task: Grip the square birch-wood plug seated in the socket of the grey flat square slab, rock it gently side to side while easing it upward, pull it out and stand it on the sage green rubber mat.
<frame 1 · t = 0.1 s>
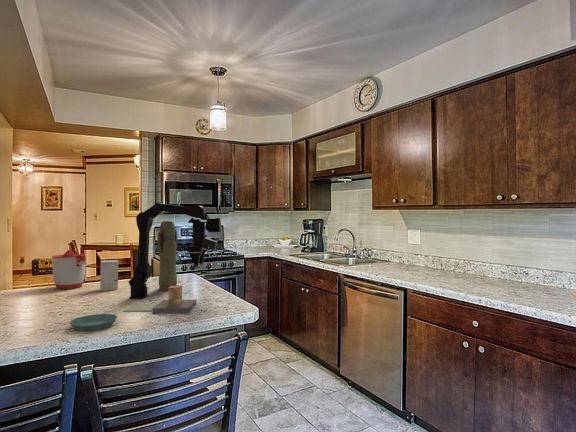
hand: (199, 265, 176), 15 cm above the countertop, tool pointing down, fingers open, 9 cm apart
skincare box: (109, 289, 194), on the countertop
wooden plug: (175, 297, 155), in the grey flat square slab
saucer: (94, 327, 132), on the countertop
grey flat square slab: (175, 308, 155), on the countertop
rubber mat: (142, 308, 156), on the countertop
thermos: (167, 289, 195), on the countertop
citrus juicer: (70, 287, 200), on the countertop
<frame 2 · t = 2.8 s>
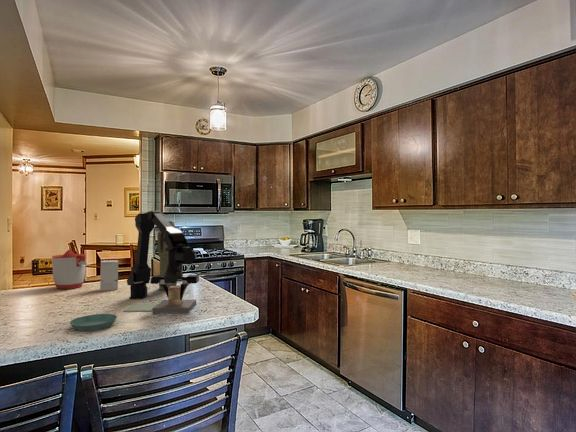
hand: (175, 300, 155), 4 cm above the countertop, tool pointing down, fingers closed on wooden plug, 4 cm apart
wooden plug: (175, 297, 155), in the grey flat square slab, touching gripper
everything else where it was.
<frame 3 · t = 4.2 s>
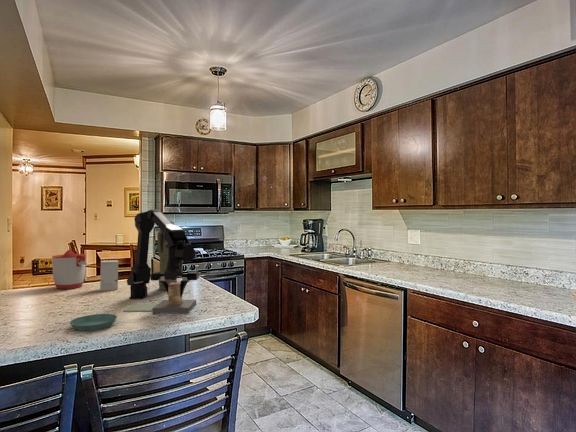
hand: (175, 296, 155), 5 cm above the countertop, tool pointing down, fingers closed on wooden plug, 4 cm apart
wooden plug: (175, 294, 155), point 6 cm above the countertop, touching gripper
everything else where it was.
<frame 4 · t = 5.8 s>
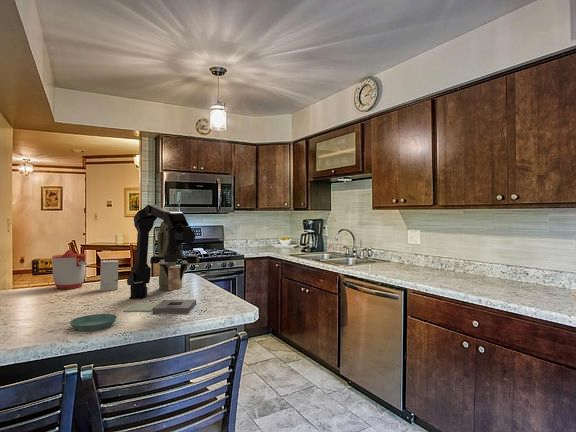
hand: (175, 280, 155), 12 cm above the countertop, tool pointing down, fingers closed on wooden plug, 4 cm apart
wooden plug: (175, 277, 155), point 13 cm above the countertop, touching gripper
everything else where it was.
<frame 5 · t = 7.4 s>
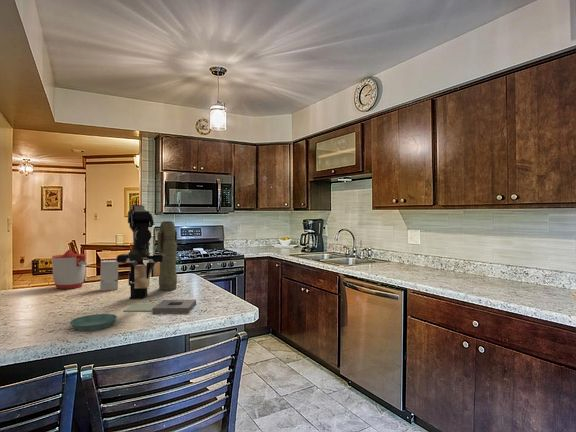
hand: (142, 278, 156), 12 cm above the countertop, tool pointing down, fingers closed on wooden plug, 4 cm apart
wooden plug: (141, 276, 156), point 13 cm above the countertop, touching gripper
everything else where it was.
when the fingers open (5 cm above the countertop, at t = 8.9 s): wooden plug drops 1 cm, resting on rubber mat.
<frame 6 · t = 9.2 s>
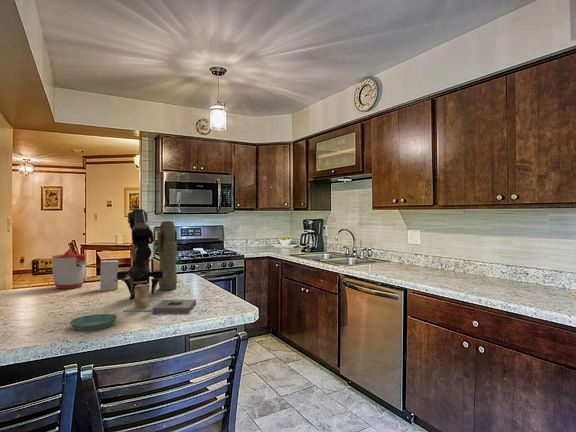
hand: (142, 294, 156), 5 cm above the countertop, tool pointing down, fingers open, 8 cm apart
wooden plug: (142, 296, 156), on the rubber mat
everything else where it was.
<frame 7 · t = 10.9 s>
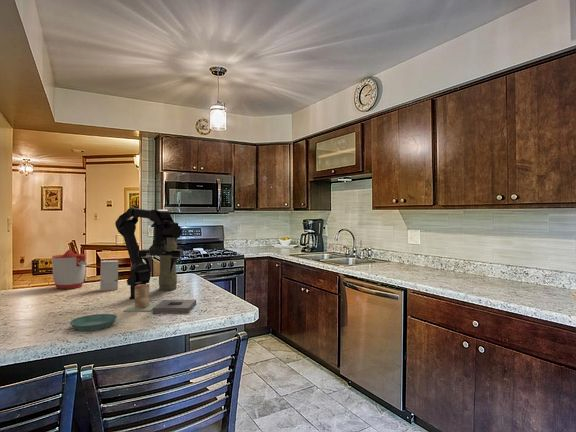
hand: (160, 272, 168), 13 cm above the countertop, tool pointing down, fingers open, 9 cm apart
nothing on the countertop moved.
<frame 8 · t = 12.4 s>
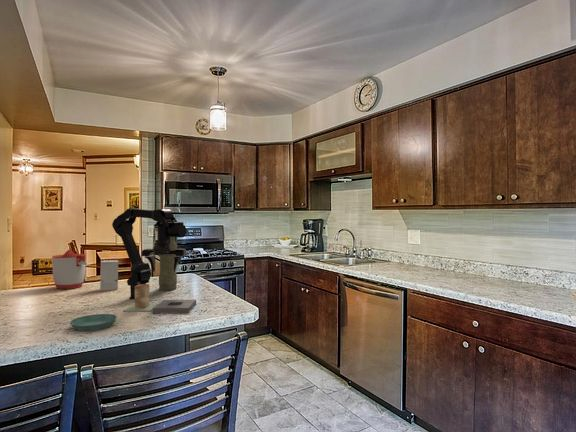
hand: (164, 271, 170), 13 cm above the countertop, tool pointing down, fingers open, 9 cm apart
nothing on the countertop moved.
at the end: wooden plug inside the target area on the rubber mat (0.0 cm from its centre), point 5.0 cm above the rubber mat's base; wooden plug tilted 0°; the gripper is holding nothing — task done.
